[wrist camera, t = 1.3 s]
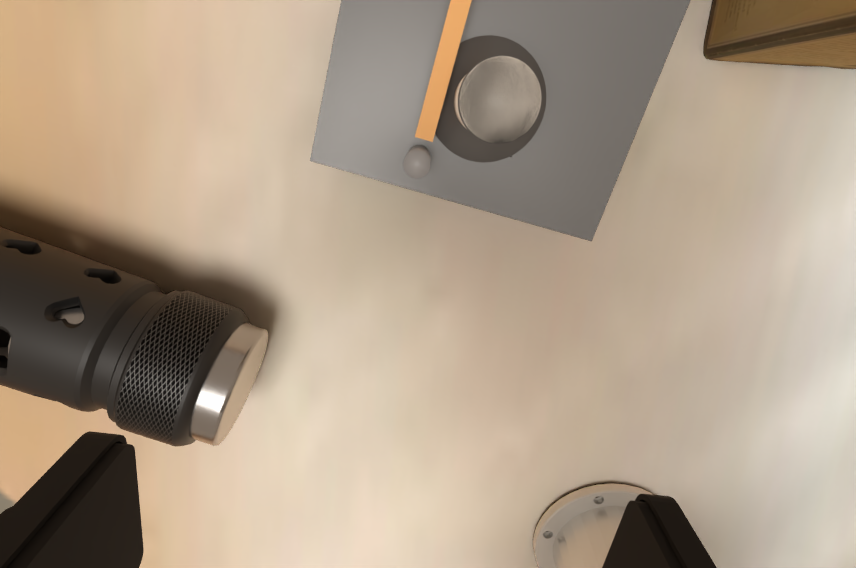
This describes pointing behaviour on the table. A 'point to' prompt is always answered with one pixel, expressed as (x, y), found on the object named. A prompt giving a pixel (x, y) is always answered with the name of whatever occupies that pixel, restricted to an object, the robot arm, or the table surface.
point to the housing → (563, 118)
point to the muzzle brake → (123, 344)
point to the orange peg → (442, 68)
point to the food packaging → (783, 32)
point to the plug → (491, 100)
